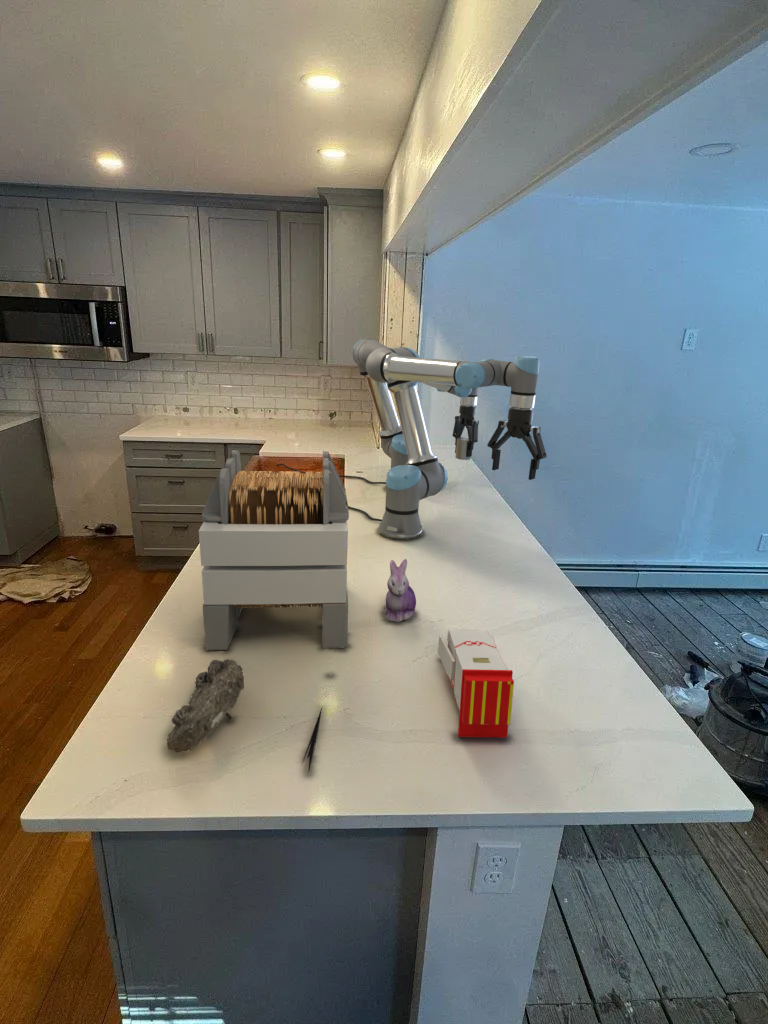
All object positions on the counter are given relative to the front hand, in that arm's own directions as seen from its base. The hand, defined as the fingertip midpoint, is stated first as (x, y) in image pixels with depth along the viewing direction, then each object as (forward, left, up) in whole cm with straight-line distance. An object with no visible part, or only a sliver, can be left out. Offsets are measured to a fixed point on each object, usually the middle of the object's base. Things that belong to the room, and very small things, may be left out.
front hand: (513, 474), depth 182 cm
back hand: (-65, +51, -14) cm, 84 cm away
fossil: (+19, -112, -26) cm, 117 cm away
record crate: (-7, -82, -26) cm, 86 cm away
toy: (+44, -67, -26) cm, 84 cm away
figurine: (+11, -58, -26) cm, 64 cm away
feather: (+32, -97, -26) cm, 105 cm away
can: (-65, +51, -16) cm, 84 cm away
